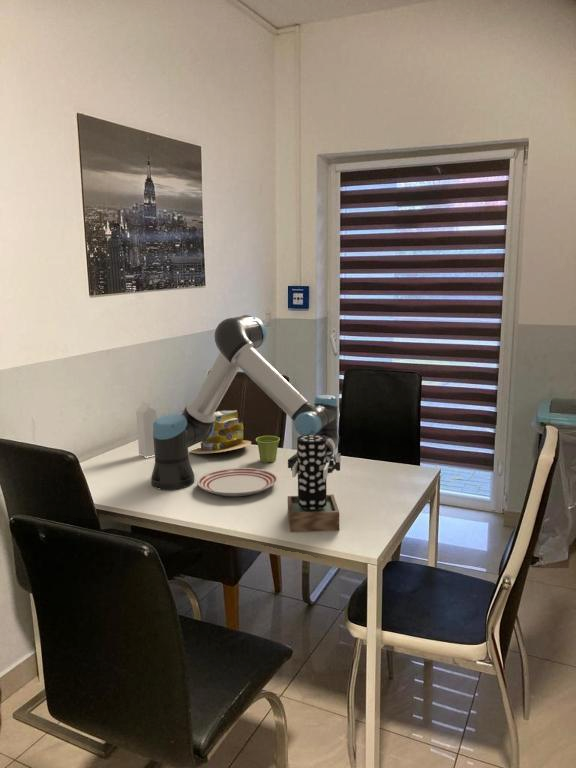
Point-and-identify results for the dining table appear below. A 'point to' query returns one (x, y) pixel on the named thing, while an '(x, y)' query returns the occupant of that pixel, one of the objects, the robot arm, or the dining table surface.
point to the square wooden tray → (313, 516)
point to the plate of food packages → (224, 434)
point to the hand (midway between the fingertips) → (309, 473)
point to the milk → (146, 429)
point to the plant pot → (267, 448)
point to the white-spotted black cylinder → (311, 471)
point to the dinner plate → (237, 481)
